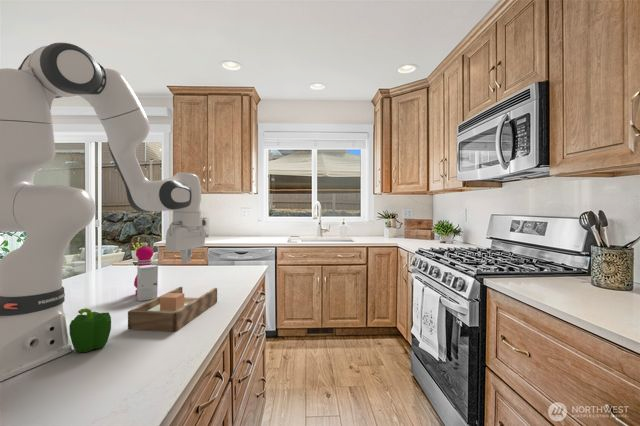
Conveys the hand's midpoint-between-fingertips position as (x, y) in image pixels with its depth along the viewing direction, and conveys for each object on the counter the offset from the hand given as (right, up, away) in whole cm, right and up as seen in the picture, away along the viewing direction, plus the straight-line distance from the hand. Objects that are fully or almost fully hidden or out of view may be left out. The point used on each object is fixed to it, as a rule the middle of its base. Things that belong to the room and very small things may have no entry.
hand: (186, 262), depth 109 cm
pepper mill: (-23, -15, +18) cm, 33 cm away
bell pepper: (-11, -16, -30) cm, 36 cm away
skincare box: (-19, -15, +11) cm, 27 cm away
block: (0, -13, -9) cm, 15 cm away
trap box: (0, -16, -5) cm, 16 cm away
